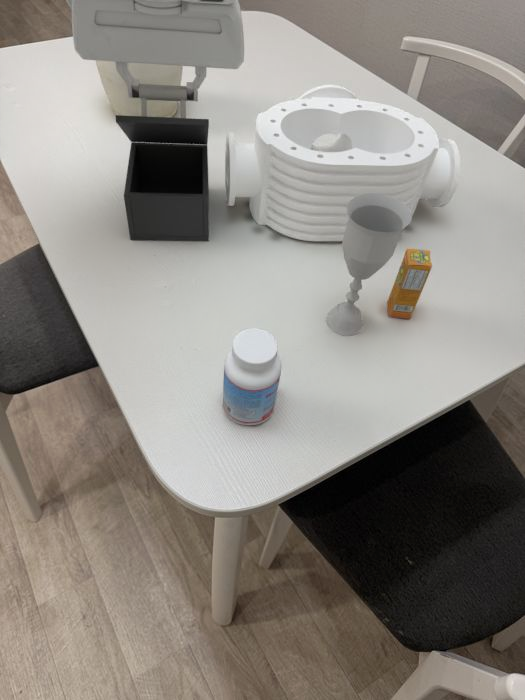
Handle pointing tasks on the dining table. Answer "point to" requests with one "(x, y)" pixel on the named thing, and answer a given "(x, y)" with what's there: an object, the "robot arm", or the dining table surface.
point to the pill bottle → (251, 377)
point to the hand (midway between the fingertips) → (164, 97)
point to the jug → (147, 75)
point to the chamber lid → (164, 119)
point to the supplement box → (409, 283)
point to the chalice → (367, 250)
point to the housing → (336, 162)
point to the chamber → (167, 192)
